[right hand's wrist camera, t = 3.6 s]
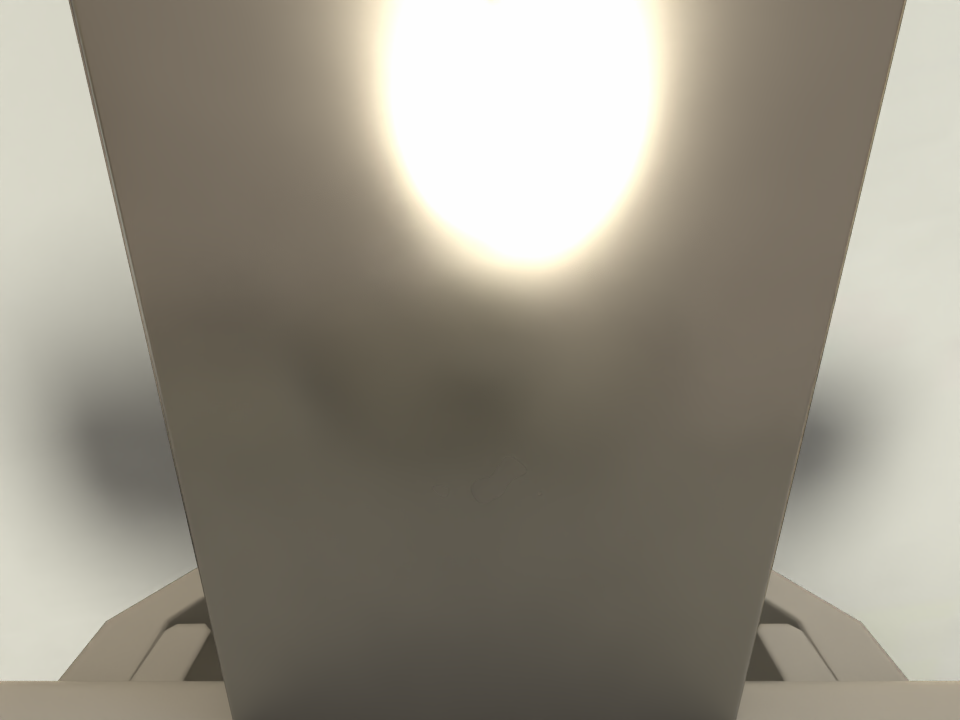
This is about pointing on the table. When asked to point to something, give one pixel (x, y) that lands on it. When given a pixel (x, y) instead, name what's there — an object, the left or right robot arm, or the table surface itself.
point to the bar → (486, 330)
